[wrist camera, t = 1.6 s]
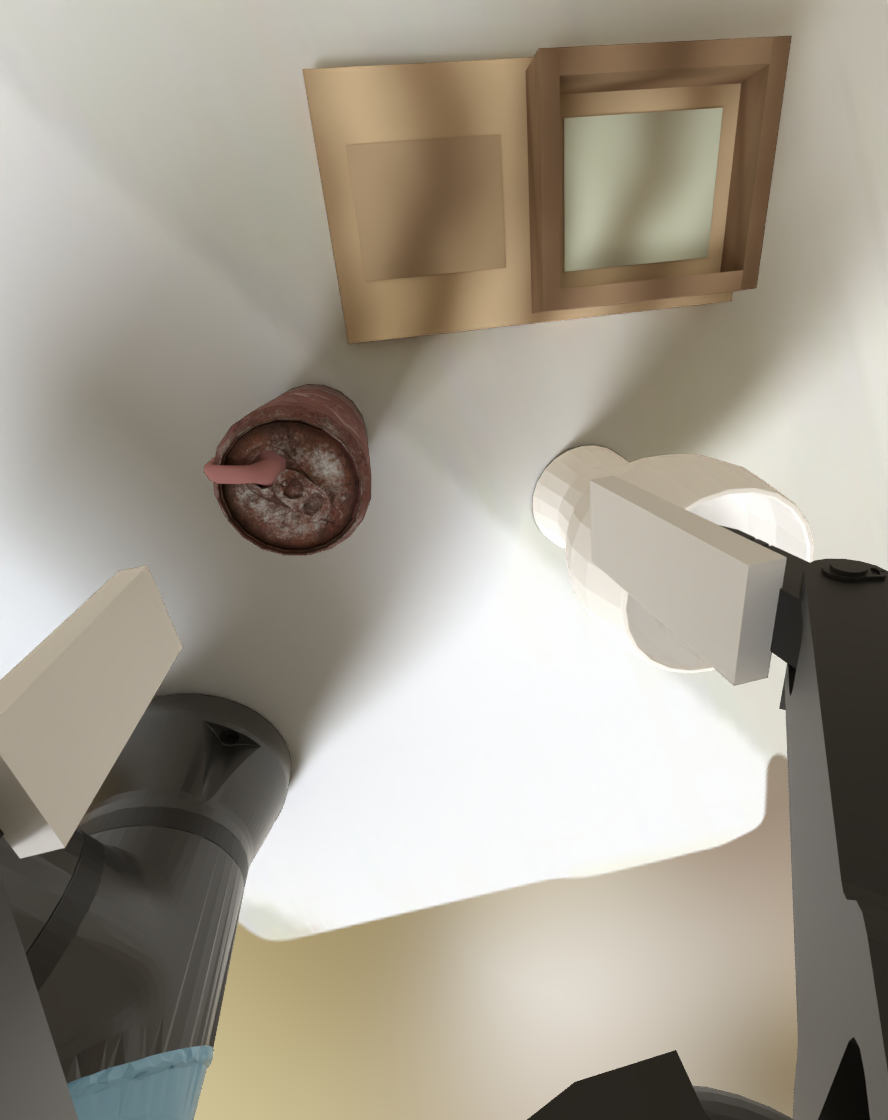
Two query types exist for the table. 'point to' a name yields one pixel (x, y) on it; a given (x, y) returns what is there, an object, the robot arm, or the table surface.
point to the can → (295, 472)
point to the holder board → (546, 182)
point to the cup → (676, 479)
